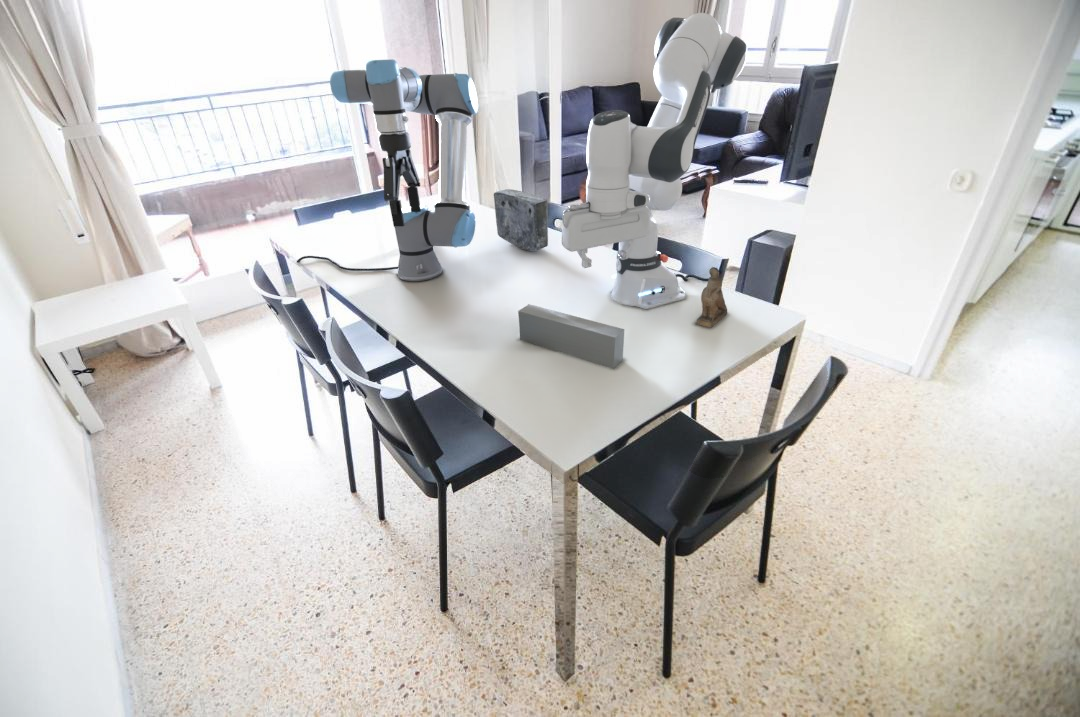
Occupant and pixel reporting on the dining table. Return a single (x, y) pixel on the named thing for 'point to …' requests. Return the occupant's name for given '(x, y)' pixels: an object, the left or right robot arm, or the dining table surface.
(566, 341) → the bar
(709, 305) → the brown carved statuette
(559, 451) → the dining table surface
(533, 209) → the concrete block
